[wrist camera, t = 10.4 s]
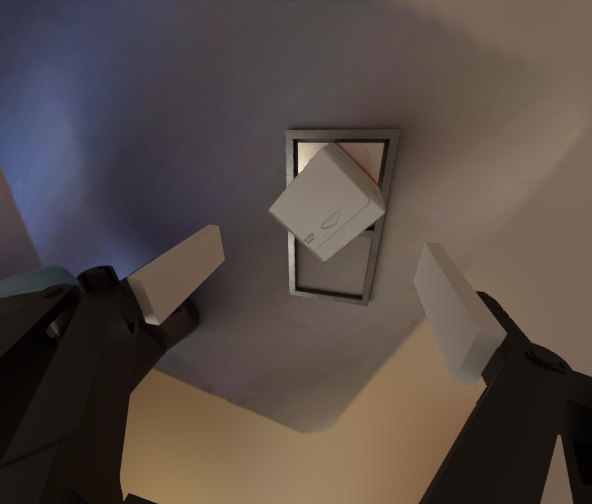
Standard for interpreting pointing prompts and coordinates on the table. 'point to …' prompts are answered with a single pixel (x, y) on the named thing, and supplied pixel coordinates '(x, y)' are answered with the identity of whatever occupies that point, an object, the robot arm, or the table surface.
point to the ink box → (329, 202)
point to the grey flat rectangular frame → (370, 162)
